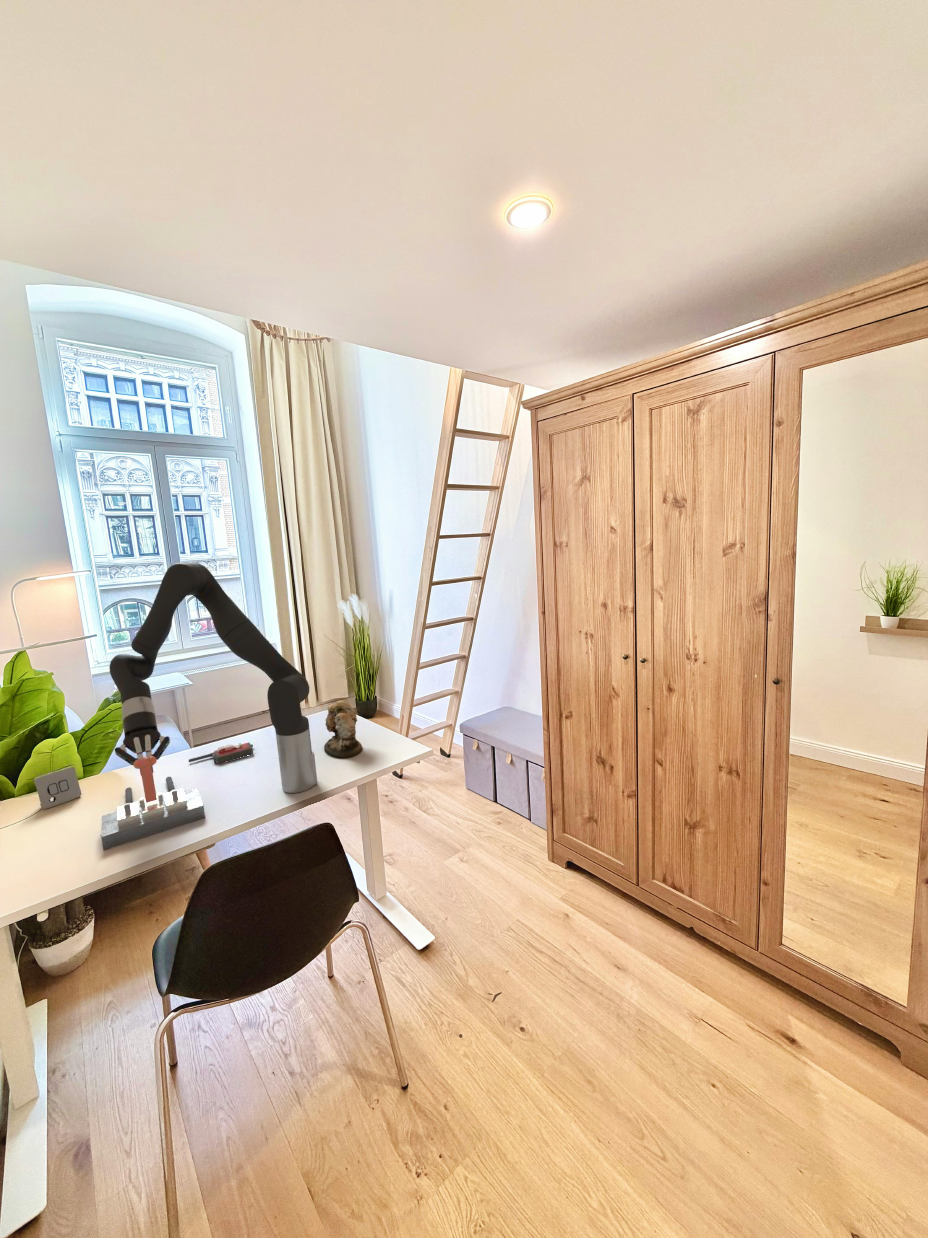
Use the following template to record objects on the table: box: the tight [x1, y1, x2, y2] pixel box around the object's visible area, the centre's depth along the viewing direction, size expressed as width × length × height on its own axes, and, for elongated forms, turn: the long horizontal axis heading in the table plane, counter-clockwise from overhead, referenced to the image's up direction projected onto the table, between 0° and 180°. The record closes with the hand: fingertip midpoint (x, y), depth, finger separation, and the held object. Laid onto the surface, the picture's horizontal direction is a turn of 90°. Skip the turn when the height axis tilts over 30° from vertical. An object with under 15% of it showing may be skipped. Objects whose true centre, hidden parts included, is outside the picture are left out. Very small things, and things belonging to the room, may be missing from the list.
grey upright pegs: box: [125, 776, 175, 804], centre depth 144 cm, size 13×20×3 cm, turn 35°
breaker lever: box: [132, 756, 157, 803], centre depth 128 cm, size 5×2×12 cm, turn 125°
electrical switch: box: [33, 766, 82, 810], centre depth 145 cm, size 9×5×9 cm, turn 141°
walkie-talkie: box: [188, 742, 254, 765], centre depth 169 cm, size 9×4×20 cm
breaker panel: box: [100, 788, 206, 851], centre depth 130 cm, size 22×12×8 cm, turn 125°
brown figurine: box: [323, 700, 363, 759], centre depth 171 cm, size 18×12×17 cm, turn 38°
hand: (147, 776), depth 129 cm, fingers closed
